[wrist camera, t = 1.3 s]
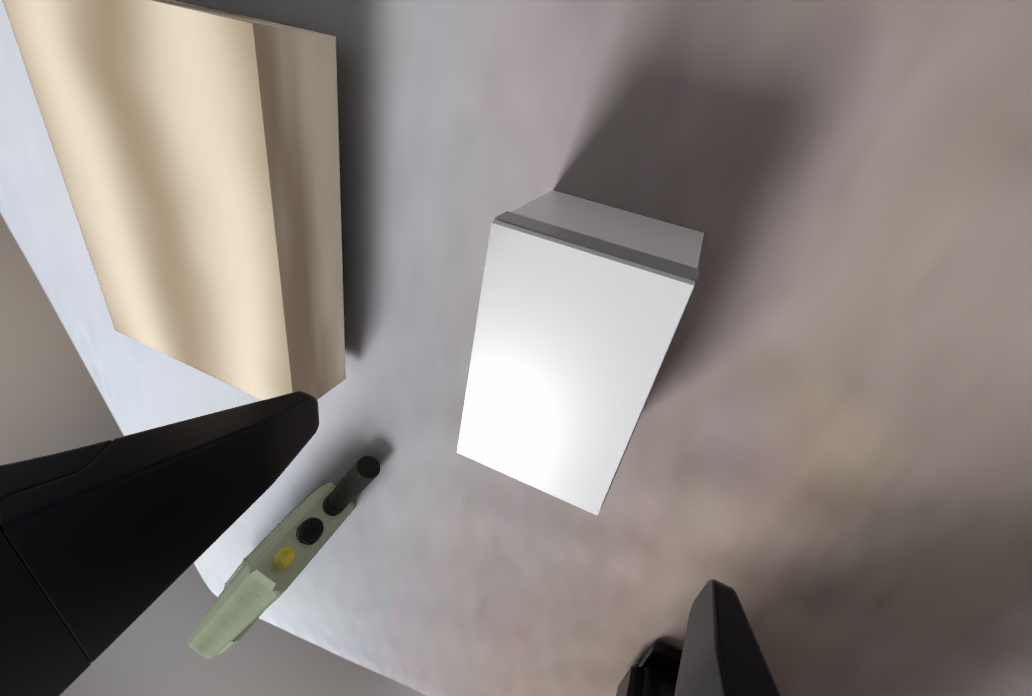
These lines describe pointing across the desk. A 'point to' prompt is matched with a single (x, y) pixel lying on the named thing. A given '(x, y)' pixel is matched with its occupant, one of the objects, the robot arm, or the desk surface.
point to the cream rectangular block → (201, 180)
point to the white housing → (572, 340)
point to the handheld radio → (279, 561)
